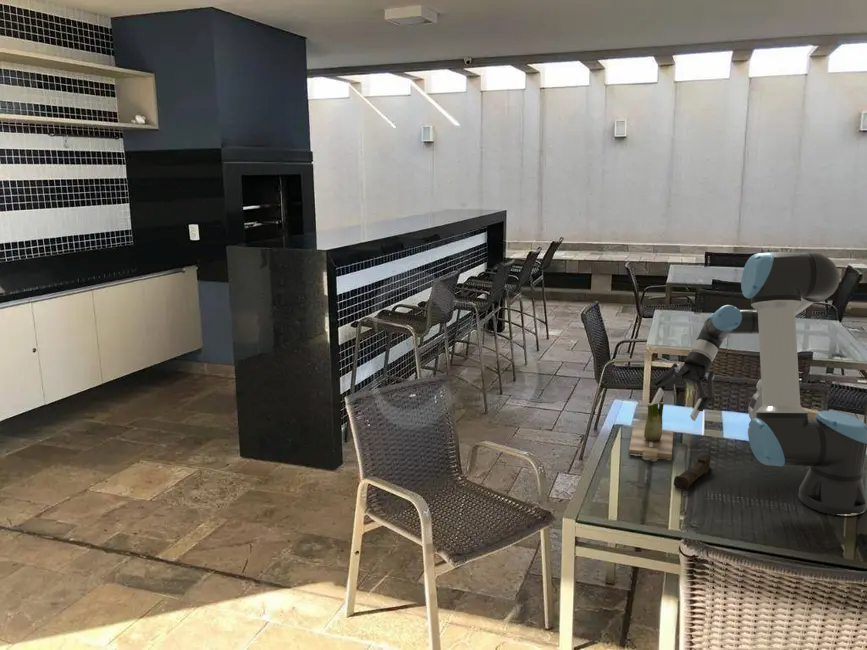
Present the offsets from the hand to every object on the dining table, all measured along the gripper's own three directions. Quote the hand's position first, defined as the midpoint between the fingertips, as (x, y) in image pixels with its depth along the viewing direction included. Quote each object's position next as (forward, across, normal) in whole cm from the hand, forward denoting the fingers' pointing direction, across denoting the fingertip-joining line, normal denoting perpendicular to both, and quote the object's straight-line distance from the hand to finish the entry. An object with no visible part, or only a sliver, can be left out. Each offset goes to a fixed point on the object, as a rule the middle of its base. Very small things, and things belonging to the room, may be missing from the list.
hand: (672, 412), depth 219 cm
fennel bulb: (+12, 0, +3) cm, 12 cm away
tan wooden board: (+13, 0, +2) cm, 13 cm away
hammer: (-19, -24, -31) cm, 43 cm away
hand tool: (+20, -19, +8) cm, 29 cm away
